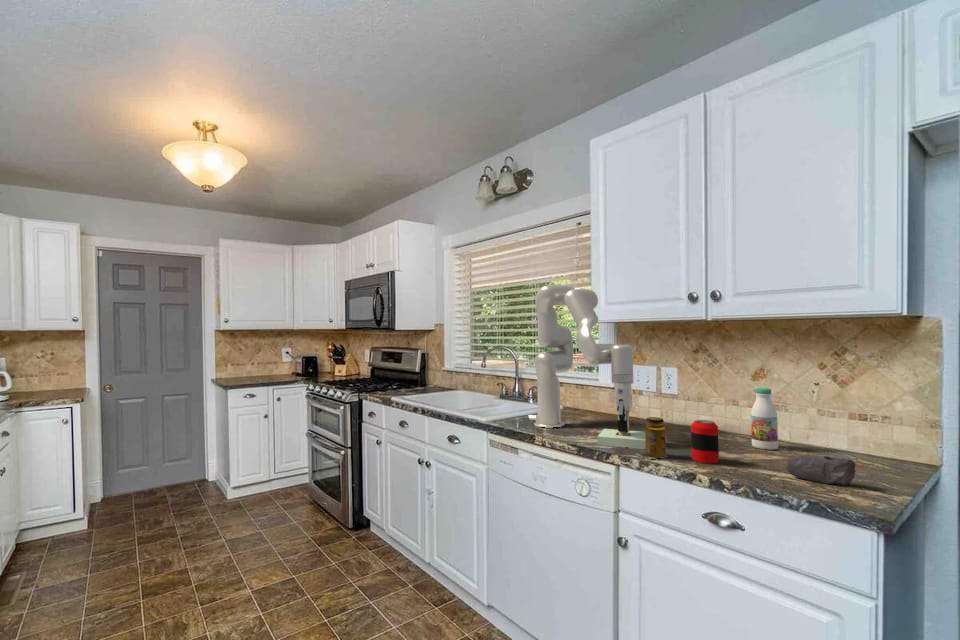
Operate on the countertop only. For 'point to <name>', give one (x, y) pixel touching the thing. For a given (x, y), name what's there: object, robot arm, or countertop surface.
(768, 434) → the milk bottle
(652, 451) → the condiment
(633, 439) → the board
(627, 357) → the robot arm
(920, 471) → the countertop surface
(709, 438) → the soda can
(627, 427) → the peg
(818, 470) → the perforated stone tool
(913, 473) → the countertop surface
